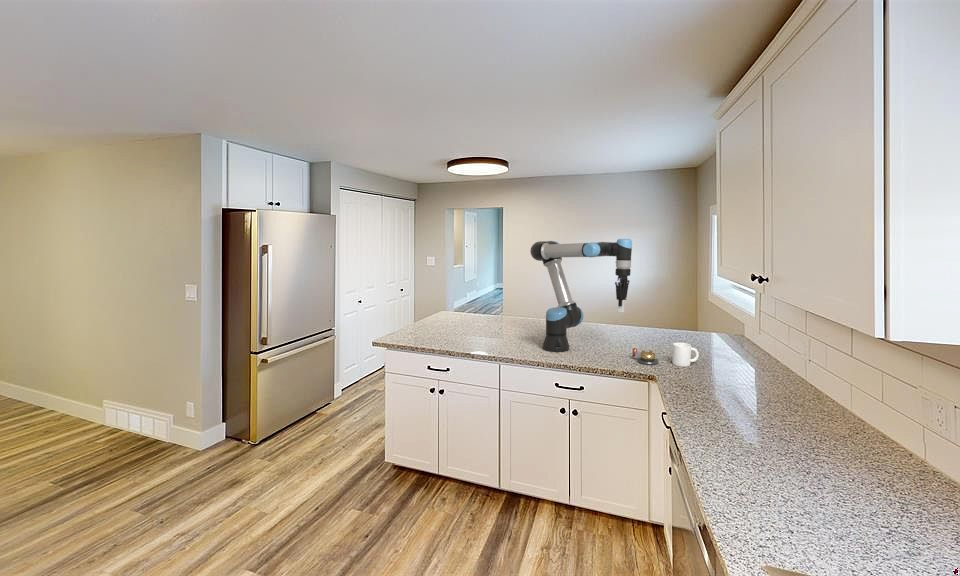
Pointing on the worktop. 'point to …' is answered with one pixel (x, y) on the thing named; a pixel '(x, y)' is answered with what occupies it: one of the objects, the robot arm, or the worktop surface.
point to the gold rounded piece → (644, 355)
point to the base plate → (647, 362)
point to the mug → (683, 354)
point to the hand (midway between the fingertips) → (620, 311)
